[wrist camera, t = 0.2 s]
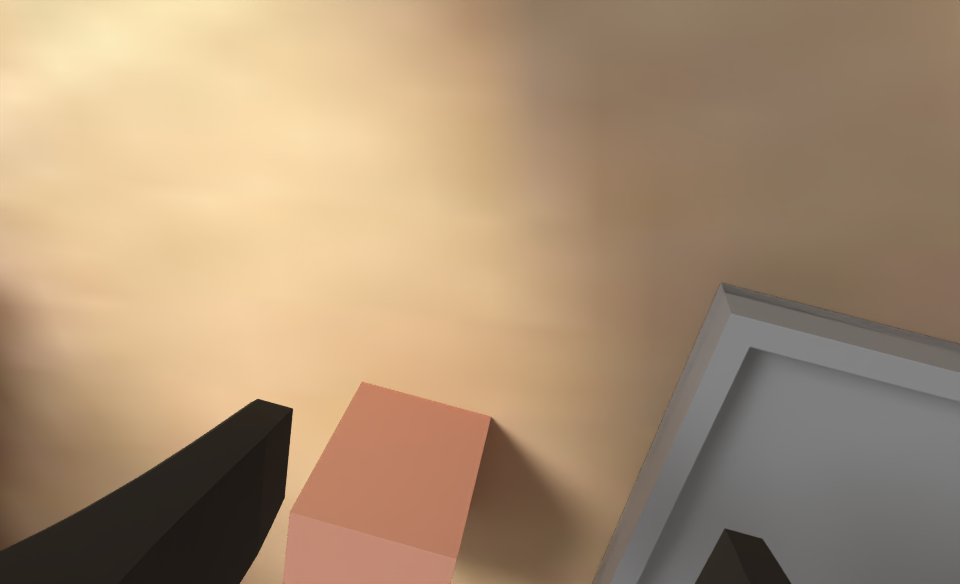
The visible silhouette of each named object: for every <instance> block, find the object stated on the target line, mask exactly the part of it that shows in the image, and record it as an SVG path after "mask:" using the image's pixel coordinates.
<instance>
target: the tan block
mask: <svg viewBox="0 0 960 584" xmlns="http://www.w3.org/2000/svg"><path fill="white" fill-rule="evenodd" d="M490 420H491V417H490V416H486V415H482V414H479V413H475V412H471V411H468V410H464V409H460V408H457V407H453V406H449V405H446V404H442V403H438V402H435V401H431V400H427V399H423V398H420V397H416V396H412V395H409V394H405V393H401V392H398V391H394V390H390V389H387V388H383V387H379V386H376V385H372V384H368V383H365V382H362V383H361V384H360V386H359V388H358V390H357V392H356V393H355V395H354V397H353V399H352V401H351V402H350V404H349V406H348V408H347V410H346V412H345V413H344V415H343V417H342V419H341V421H340V422H339V424H338V426H337V428H336V430H335V431H334V433H333V435H332V437H331V439H330V440H329V442H328V444H327V446H326V448H325V449H324V451H323V453H322V455H321V457H320V459H319V460H318V462H317V464H316V466H315V468H314V469H313V471H312V473H311V475H310V477H309V478H308V480H307V482H306V484H305V486H304V487H303V489H302V491H301V493H300V495H299V496H298V498H297V500H296V502H295V504H294V506H293V507H292V509H291V511H290V516H289V526H288V537H287V547H286V557H285V568H284V578H283V584H450V583H451V579H452V576H453V572H454V568H455V565H456V561H457V557H458V553H459V549H460V545H461V541H462V536H463V532H464V528H465V524H466V520H467V516H468V511H469V507H470V503H471V499H472V495H473V491H474V486H475V482H476V478H477V474H478V470H479V466H480V461H481V457H482V453H483V449H484V445H485V441H486V436H487V432H488V428H489V424H490Z"/></svg>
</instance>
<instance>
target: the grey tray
mask: <svg viewBox="0 0 960 584" xmlns="http://www.w3.org/2000/svg"><path fill="white" fill-rule="evenodd" d="M725 528H726V529H729V530H733V531H737V532H740V533H744V534H747V535H751V536H755V537H758V538H762V539H763V540H764V542H765V543H766V545H767V546H768V548H769V549H770V551H771V552H772V554H773V555H774V557H775V558H776V560H777V562H778V563H779V565H780V566H781V568H782V569H783V571H784V573H785V574H786V576H787V577H788V579H789V581H790V582H791V584H960V344H957V343H953V342H949V341H945V340H941V339H937V338H933V337H930V336H926V335H922V334H918V333H914V332H910V331H906V330H902V329H898V328H895V327H891V326H887V325H883V324H879V323H875V322H871V321H867V320H863V319H860V318H856V317H852V316H848V315H844V314H840V313H836V312H832V311H828V310H825V309H821V308H817V307H813V306H809V305H805V304H801V303H797V302H793V301H790V300H786V299H782V298H778V297H774V296H770V295H766V294H762V293H758V292H755V291H751V290H747V289H743V288H739V287H735V286H731V285H727V284H724V283H721V284H720V286H719V289H718V291H717V293H716V296H715V298H714V300H713V303H712V305H711V307H710V310H709V312H708V314H707V317H706V319H705V321H704V324H703V326H702V328H701V331H700V333H699V335H698V338H697V340H696V342H695V345H694V347H693V349H692V352H691V354H690V356H689V359H688V361H687V363H686V366H685V368H684V370H683V373H682V375H681V377H680V380H679V382H678V384H677V387H676V389H675V391H674V394H673V396H672V398H671V401H670V403H669V405H668V408H667V410H666V412H665V415H664V417H663V419H662V422H661V424H660V426H659V429H658V431H657V433H656V436H655V438H654V440H653V443H652V445H651V447H650V450H649V452H648V454H647V457H646V459H645V461H644V464H643V466H642V468H641V471H640V473H639V475H638V478H637V480H636V482H635V485H634V487H633V489H632V492H631V494H630V496H629V499H628V501H627V503H626V506H625V508H624V510H623V513H622V515H621V517H620V520H619V522H618V524H617V527H616V529H615V531H614V534H613V536H612V539H611V541H610V543H609V546H608V548H607V550H606V553H605V555H604V557H603V560H602V562H601V564H600V567H599V569H598V571H597V574H596V576H595V578H594V581H593V583H592V584H695V582H696V580H697V579H698V577H699V575H700V573H701V571H702V569H703V567H704V566H705V564H706V562H707V560H708V558H709V556H710V554H711V553H712V551H713V549H714V547H715V545H716V543H717V542H718V540H719V538H720V536H721V534H722V532H723V530H724V529H725Z"/></svg>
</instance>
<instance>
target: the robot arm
mask: <svg viewBox="0 0 960 584" xmlns="http://www.w3.org/2000/svg"><path fill="white" fill-rule="evenodd" d="M292 414H293V408H289V407H285V406H282V405H278V404H274V403H271V402H267V401H264V400H260V399H257V400H255V401H253V402H251V403H250V404H248V405H247V406H245V407H244V408H242V409H241V410H239V411H238V412H236V413H235V414H234V415H232V416H231V417H229V418H228V419H226V420H225V421H223V422H222V423H220V424H219V425H218V426H216V427H215V428H213V429H212V430H210V431H209V432H207V433H206V434H204V435H203V436H201V437H200V438H198V439H197V440H195V441H194V442H192V443H191V444H189V445H188V446H186V447H185V448H183V449H182V450H180V451H179V452H177V453H175V454H174V455H172V456H171V457H169V458H168V459H166V460H164V461H163V462H161V463H160V464H158V465H157V466H155V467H154V468H152V469H150V470H149V471H147V472H146V473H144V474H142V475H141V476H139V477H138V478H136V479H134V480H133V481H131V482H129V483H127V484H126V485H124V486H122V487H120V488H119V489H117V490H115V491H114V492H112V493H110V494H108V495H107V496H105V497H103V498H101V499H100V500H98V501H96V502H94V503H93V504H91V505H89V506H88V507H86V508H84V509H82V510H80V511H79V512H77V513H75V514H73V515H71V516H69V517H67V518H65V519H64V520H62V521H60V522H58V523H56V524H54V525H52V526H50V527H48V528H46V529H44V530H42V531H40V532H38V533H36V534H34V535H32V536H30V537H28V538H26V539H24V540H22V541H20V542H18V543H16V544H14V545H12V546H10V547H8V548H6V549H3V550H1V551H0V584H240V582H241V581H242V579H243V577H244V576H245V574H246V573H247V571H248V569H249V568H250V566H251V565H252V563H253V561H254V560H255V558H256V556H257V555H258V553H259V551H260V549H261V547H262V545H263V543H264V540H265V538H266V536H267V534H268V532H269V530H270V528H271V526H272V524H273V522H274V520H275V517H276V515H277V513H278V511H279V509H280V507H281V505H282V502H283V500H284V498H285V487H286V477H287V466H288V456H289V445H290V435H291V424H292ZM695 584H791V582H790V581H789V579H788V577H787V576H786V574H785V573H784V571H783V569H782V568H781V566H780V565H779V563H778V562H777V560H776V558H775V557H774V555H773V554H772V552H771V551H770V549H769V548H768V546H767V545H766V543H765V542H764V540H763V539H762V538H758V537H755V536H751V535H747V534H744V533H740V532H737V531H733V530H729V529H726V528H725V529H724V530H723V532H722V534H721V536H720V538H719V540H718V542H717V543H716V545H715V547H714V549H713V551H712V553H711V554H710V556H709V558H708V560H707V562H706V564H705V566H704V567H703V569H702V571H701V573H700V575H699V577H698V579H697V580H696V582H695Z"/></svg>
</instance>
